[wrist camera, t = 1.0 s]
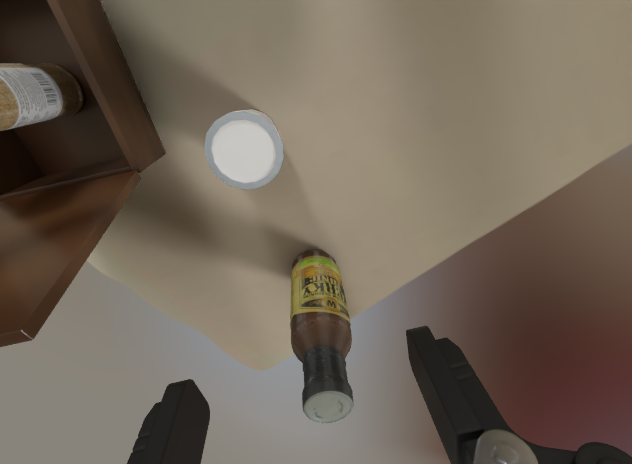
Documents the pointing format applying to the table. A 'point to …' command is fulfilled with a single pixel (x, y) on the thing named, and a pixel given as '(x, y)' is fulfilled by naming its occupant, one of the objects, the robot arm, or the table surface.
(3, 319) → the chest lid
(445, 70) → the table surface
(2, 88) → the sprinkles bottle
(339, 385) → the sauce bottle
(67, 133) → the chest
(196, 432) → the robot arm
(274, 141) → the shot glass
